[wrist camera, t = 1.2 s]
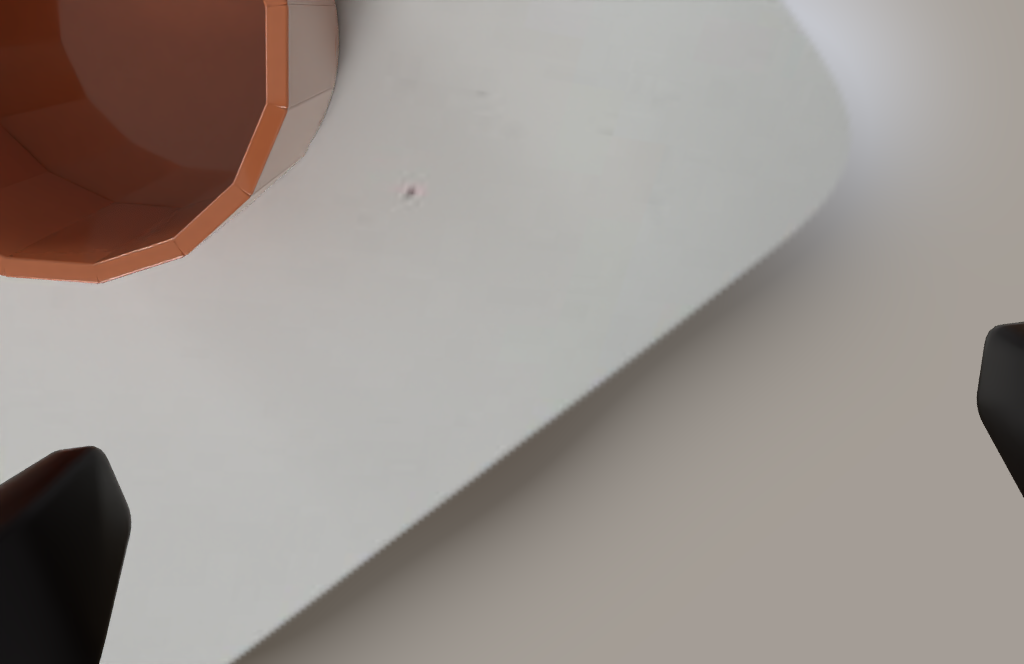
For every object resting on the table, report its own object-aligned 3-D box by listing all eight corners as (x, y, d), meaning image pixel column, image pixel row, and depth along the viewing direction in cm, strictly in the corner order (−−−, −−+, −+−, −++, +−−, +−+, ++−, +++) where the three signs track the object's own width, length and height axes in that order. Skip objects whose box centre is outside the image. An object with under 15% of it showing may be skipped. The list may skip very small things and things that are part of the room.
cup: (336, 230, 22) (288, 298, 17) (-27, 201, 21) (-192, 262, 16) (343, -169, 19) (287, -237, 14) (-79, -212, 18) (-303, -301, 13)
